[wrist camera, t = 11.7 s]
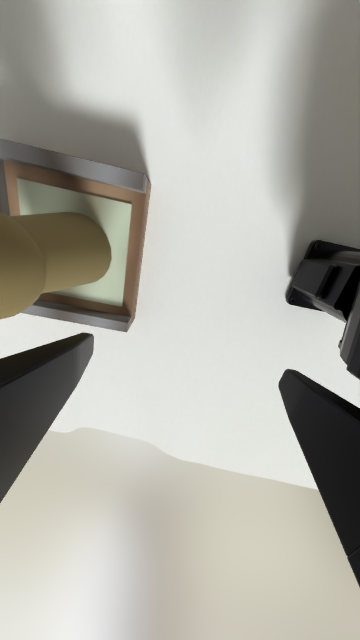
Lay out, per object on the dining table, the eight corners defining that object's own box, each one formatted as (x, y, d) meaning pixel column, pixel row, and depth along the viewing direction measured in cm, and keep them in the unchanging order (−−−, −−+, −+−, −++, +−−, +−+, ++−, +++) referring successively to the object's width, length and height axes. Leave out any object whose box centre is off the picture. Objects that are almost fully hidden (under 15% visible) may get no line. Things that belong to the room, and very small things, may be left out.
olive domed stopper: (83, 296, 19) (-28, 365, 9) (28, 246, 17) (-186, 261, 7) (125, 254, 18) (49, 280, 7) (70, 194, 16) (-129, 120, 6)
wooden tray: (151, 184, 17) (143, 173, 14) (134, 318, 22) (126, 332, 19) (9, 150, 16) (-34, 130, 13) (25, 297, 22) (-3, 308, 18)
